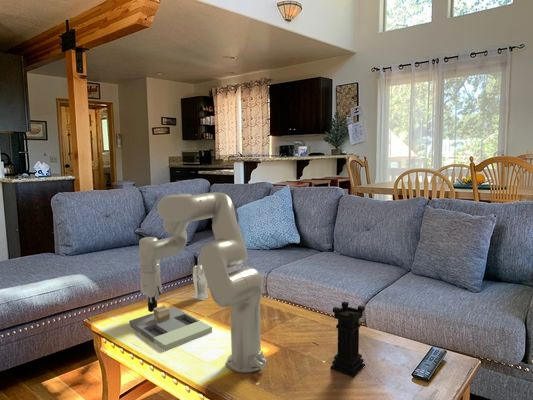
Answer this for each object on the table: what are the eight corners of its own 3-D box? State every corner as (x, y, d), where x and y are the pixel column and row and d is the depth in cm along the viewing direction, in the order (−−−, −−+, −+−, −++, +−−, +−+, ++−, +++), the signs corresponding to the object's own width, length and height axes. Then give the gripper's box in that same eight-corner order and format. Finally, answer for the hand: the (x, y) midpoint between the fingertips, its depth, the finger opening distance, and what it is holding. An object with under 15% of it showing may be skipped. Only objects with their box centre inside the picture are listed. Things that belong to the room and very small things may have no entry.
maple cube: (169, 319, 163) (169, 308, 162) (159, 322, 159) (159, 311, 159) (164, 315, 166) (163, 305, 165) (154, 319, 163) (153, 308, 162)
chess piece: (342, 358, 135) (343, 300, 132) (365, 366, 130) (366, 306, 127) (330, 368, 129) (330, 308, 126) (353, 377, 124) (354, 315, 121)
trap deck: (212, 331, 155) (211, 327, 155) (165, 350, 142) (164, 345, 141) (173, 310, 175) (173, 306, 175) (129, 325, 162) (129, 320, 162)
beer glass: (192, 296, 192) (191, 265, 190) (207, 294, 194) (206, 263, 192) (194, 301, 186) (193, 269, 184) (210, 299, 188) (208, 268, 186)
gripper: (133, 265, 168) (135, 308, 171) (150, 273, 157) (153, 318, 160) (150, 262, 173) (152, 303, 176) (168, 269, 162) (170, 313, 165)
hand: (152, 310), depth 168 cm, fingers closed
